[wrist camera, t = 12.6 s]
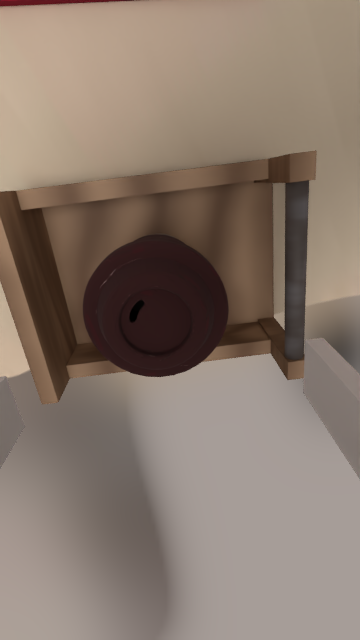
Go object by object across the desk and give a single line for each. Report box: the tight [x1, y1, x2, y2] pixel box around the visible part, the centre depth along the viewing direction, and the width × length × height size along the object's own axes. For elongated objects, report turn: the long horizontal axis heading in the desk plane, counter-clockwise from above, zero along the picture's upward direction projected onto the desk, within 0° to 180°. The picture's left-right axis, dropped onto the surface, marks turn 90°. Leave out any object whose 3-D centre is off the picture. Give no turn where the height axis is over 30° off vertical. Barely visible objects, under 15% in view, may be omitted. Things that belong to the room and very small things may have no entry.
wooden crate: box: [0, 151, 316, 404], centre depth 31 cm, size 24×18×11 cm
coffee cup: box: [83, 233, 229, 377], centre depth 28 cm, size 10×10×15 cm
